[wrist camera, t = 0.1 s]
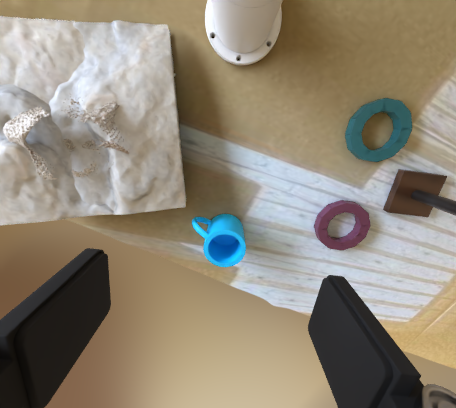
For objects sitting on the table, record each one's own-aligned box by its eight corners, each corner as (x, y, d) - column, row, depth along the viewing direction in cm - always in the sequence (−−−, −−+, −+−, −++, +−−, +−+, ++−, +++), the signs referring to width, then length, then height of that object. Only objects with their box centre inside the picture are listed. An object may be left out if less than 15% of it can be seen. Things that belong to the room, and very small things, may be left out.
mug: (250, 225, 48) (254, 243, 41) (230, 251, 51) (230, 273, 43) (204, 197, 46) (200, 211, 39) (186, 226, 49) (178, 244, 41)
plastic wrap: (168, -6, 29) (189, 216, 36) (176, 51, 45) (189, 198, 52) (-155, -25, 24) (-57, 240, 31) (-19, 46, 39) (25, 212, 46)
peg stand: (398, 169, 44) (463, 184, 32) (440, 174, 45) (520, 191, 32) (383, 209, 47) (437, 237, 35) (422, 214, 47) (489, 244, 35)
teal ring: (357, 95, 40) (363, 93, 38) (413, 105, 40) (422, 104, 38) (338, 155, 43) (343, 156, 41) (389, 163, 44) (397, 165, 42)
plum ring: (323, 197, 46) (327, 199, 44) (371, 204, 47) (377, 208, 45) (308, 241, 50) (311, 246, 48) (354, 248, 50) (359, 253, 48)
